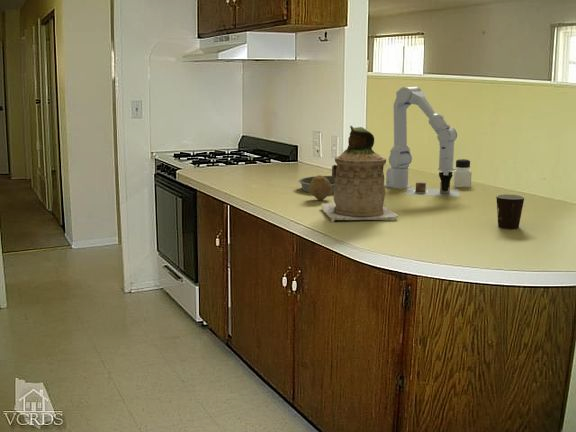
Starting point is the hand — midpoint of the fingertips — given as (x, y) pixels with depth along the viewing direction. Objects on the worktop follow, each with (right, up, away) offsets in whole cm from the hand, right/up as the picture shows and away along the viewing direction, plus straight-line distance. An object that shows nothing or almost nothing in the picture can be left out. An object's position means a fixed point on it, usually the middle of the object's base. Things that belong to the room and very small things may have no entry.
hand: (444, 189), depth 270 cm
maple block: (0, -1, 0) cm, 1 cm away
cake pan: (-49, 0, +13) cm, 51 cm away
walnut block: (-10, -1, +2) cm, 10 cm away
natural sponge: (-53, -5, -11) cm, 54 cm away
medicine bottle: (+12, +2, +17) cm, 21 cm away
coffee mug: (+5, -15, -61) cm, 63 cm away
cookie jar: (-41, -11, -38) cm, 57 cm away
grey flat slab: (-5, -1, +1) cm, 5 cm away
